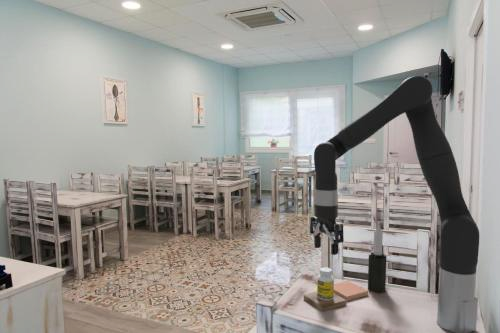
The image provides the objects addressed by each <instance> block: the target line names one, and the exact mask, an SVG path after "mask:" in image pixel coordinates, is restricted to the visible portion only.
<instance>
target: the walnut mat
mask: <svg viewBox="0 0 500 333" xmlns="http://www.w3.org/2000/svg"><path fill="white" fill-rule="evenodd" d="M303 300H305V301H306V302H307V303H309V304H311V305H312V306H314V307H315V308H317V309H318V310H320V311H321V312H326V311H329V310H332V309H336V308H338V307H339V308H340V307H342V306H346V305H347V301H346V300H345V299H343V298H342V297H340V296H338V295H336V294H335V293H334V294H333V299H332V300H329V301H325V300H321V299H319V298H318V297H317V291H314V292H309V293H304V294H303Z"/></svg>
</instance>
